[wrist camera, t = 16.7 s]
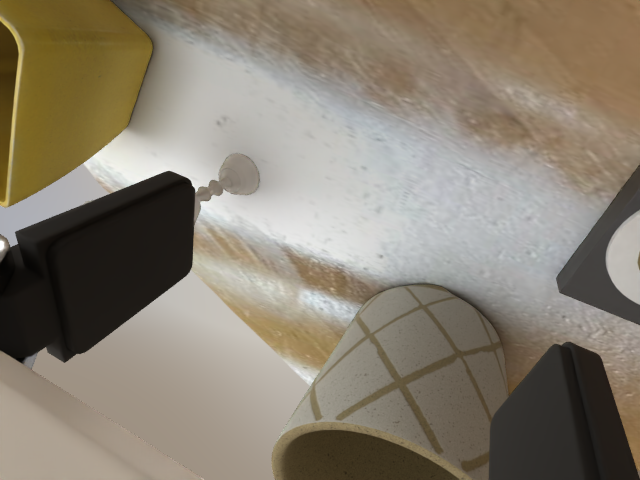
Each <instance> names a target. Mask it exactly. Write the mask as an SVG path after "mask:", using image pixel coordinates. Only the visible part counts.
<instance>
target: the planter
mask: <svg viewBox="0 0 640 480" xmlns="http://www.w3.org/2000/svg"><path fill="white" fill-rule="evenodd" d="M508 397H509V395H508V386H507V377H506V367H505V358H504V352H503V348H502V344H501V342H500V339H499V337H498V334H497V333H496V331H495V329H494V328H493V326H492V325H491V324H490V322H489V321H488V320H487V319H486V318H485V317H484V316H483V315H482V314H481V313H480V312H479V311H478V310H477V309H475V308H474V307H473V306H471V305H470V304H468V303H467V302H465V301H463V300H462V299H460V298H458V297H456V296H455V295H453V294H451V293H450V292H449V291H447V290H446V289H445V288H443V287H441V286H437V285H430V284H416V285H407V286H401V287H396V288H392V289H389V290H386V291H383V292H381V293H379V294H377V295H375V296H374V297H372V298H371V299H370V300H368V301H367V302H366V303H365V304H364V305H363V306H362V307H361V309H360V310H359V311H358V313H357V314H356V316H355V317H354V319H353V321H352V322H351V324H350V325H349V327H348V329H347V330H346V332H345V333H344V335H343V337H342V338H341V340H340V341H339V343H338V344H337V346H336V348H335V349H334V351H333V352H332V354H331V355H330V357H329V358H328V360H327V362H326V363H325V365H324V366H323V368H322V369H321V371H320V372H319V374H318V375H317V377H316V378H315V380H314V382H313V383H312V385H311V386H310V388H309V389H308V391H307V392H306V394H305V396H304V397H303V399H302V400H301V402H300V403H299V405H298V407H297V408H296V410H295V412H294V413H293V415H292V417H291V418H290V420H289V421H288V423H287V424H286V426H285V428H284V430H283V431H282V433H281V434H280V436H279V438H278V440H277V441H276V443H275V446H274V449H273V452H272V470H273V474H274V478H275V480H489V448H490V425H491V421H492V418H493V416H494V414H495V413H496V411H497V410H498V409H499V408H500V407H501V405H502V404H503V403H504V402H505V401H506V399H507V398H508Z"/></svg>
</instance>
